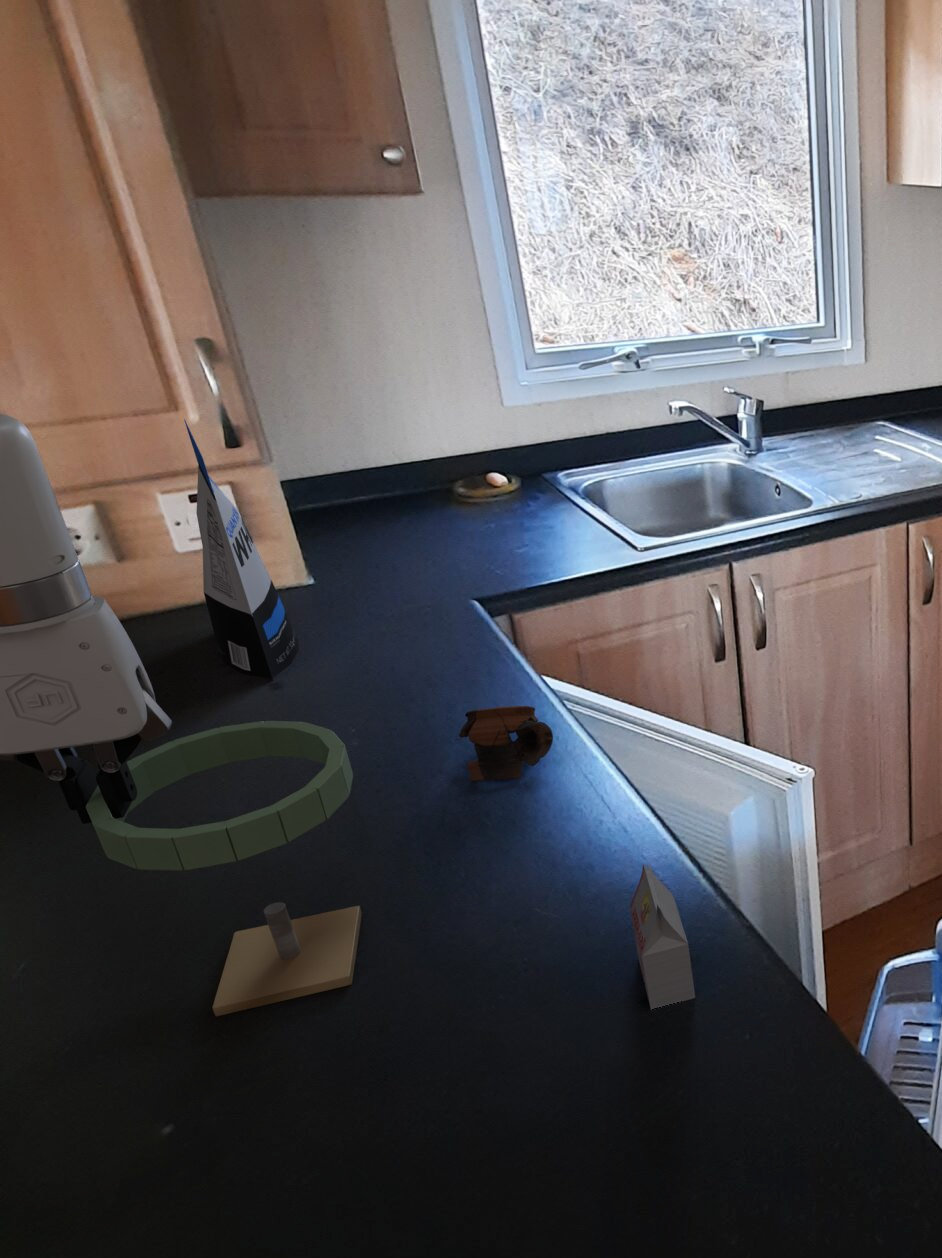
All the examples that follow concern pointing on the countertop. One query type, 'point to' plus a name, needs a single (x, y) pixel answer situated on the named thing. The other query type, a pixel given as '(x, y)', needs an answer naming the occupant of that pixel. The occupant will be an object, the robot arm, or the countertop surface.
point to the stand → (288, 958)
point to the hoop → (238, 833)
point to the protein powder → (239, 587)
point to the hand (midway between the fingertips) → (108, 810)
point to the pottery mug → (505, 741)
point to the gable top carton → (661, 943)
